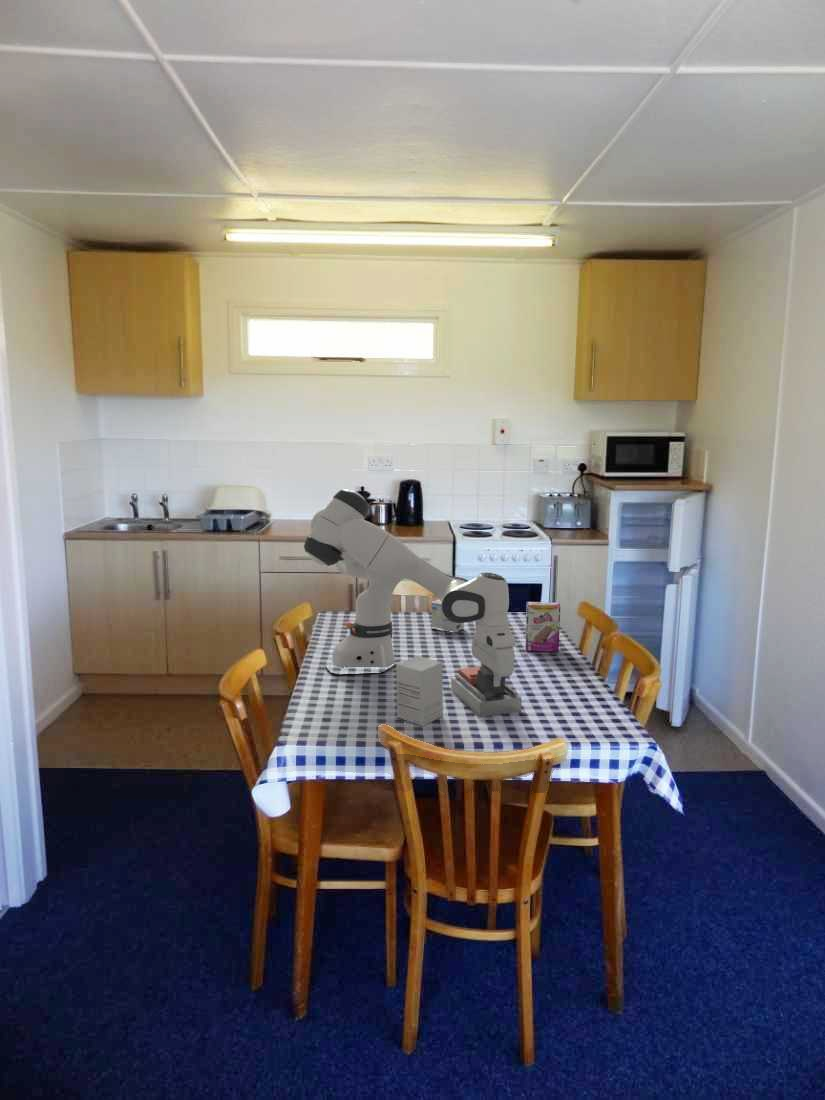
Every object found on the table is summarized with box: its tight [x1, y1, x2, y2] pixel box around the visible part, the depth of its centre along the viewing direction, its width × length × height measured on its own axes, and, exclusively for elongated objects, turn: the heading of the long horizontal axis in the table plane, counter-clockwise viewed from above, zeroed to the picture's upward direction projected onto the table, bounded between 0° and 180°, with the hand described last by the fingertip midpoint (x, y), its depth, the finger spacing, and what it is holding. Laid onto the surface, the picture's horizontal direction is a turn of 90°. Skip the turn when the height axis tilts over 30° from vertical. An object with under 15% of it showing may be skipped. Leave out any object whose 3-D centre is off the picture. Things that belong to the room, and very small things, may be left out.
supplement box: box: [395, 656, 444, 727], centre depth 198 cm, size 9×9×15 cm
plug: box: [477, 667, 506, 694], centre depth 205 cm, size 6×5×6 cm
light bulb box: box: [430, 599, 465, 633], centre depth 282 cm, size 11×7×11 cm, turn 58°
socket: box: [450, 672, 522, 718], centre depth 211 cm, size 12×21×5 cm, turn 18°
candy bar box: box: [524, 601, 561, 653], centre depth 255 cm, size 11×5×16 cm, turn 84°
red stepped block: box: [458, 665, 481, 685], centre depth 216 cm, size 8×9×3 cm
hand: (491, 682), depth 205 cm, fingers closed on plug, 5 cm apart
